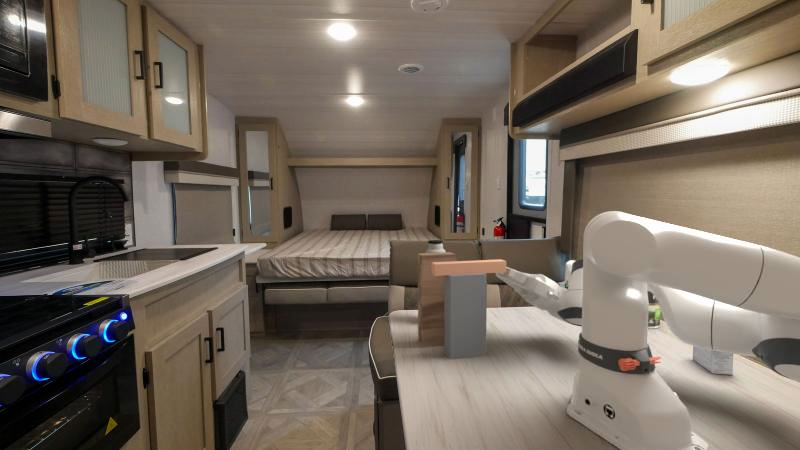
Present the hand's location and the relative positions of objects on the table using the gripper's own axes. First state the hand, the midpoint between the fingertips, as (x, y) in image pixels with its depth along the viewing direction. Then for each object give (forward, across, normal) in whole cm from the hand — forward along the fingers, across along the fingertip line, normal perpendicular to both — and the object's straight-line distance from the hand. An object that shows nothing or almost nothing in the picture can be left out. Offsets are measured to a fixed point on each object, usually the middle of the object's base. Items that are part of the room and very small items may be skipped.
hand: (500, 268), depth 99 cm
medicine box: (-51, -22, +3) cm, 55 cm away
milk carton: (-51, +26, +3) cm, 58 cm away
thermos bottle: (-3, +26, -25) cm, 36 cm away
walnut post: (+2, +8, -27) cm, 29 cm away
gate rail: (+8, 0, -5) cm, 9 cm away
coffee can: (-60, +8, +8) cm, 61 cm away
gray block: (-2, 0, -25) cm, 25 cm away
